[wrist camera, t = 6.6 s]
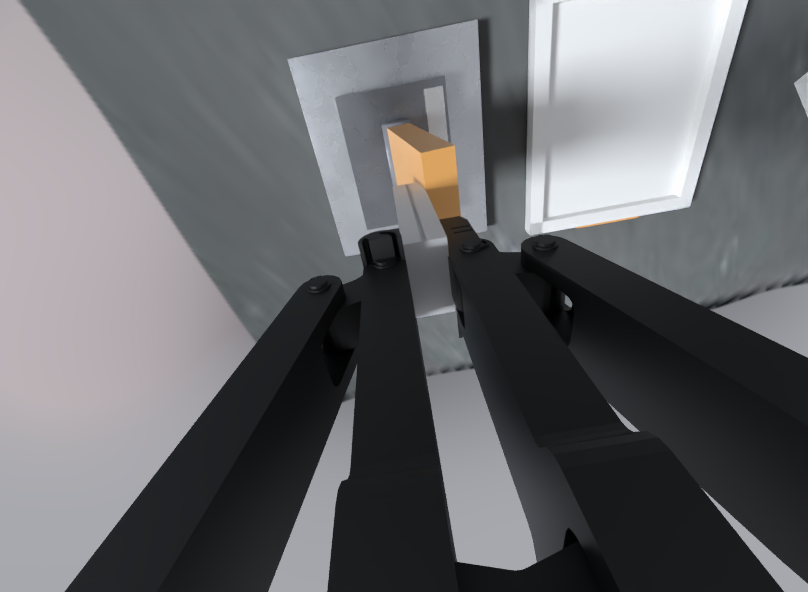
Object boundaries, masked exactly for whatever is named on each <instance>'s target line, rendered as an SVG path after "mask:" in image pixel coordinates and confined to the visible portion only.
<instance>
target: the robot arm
mask: <svg viewBox="0 0 808 592" xmlns="http://www.w3.org/2000/svg"><path fill="white" fill-rule="evenodd" d="M393 194H394V200H395V206H396V212H397V219H398V225H399V228H395V229H390V230H380V231H376V232H372V233H369V234H367V235H365V236H363V237H362V238H360V239H359V241H358V247H359V251H360V254H361V258H362V262H363V266H364V270H363V275H362V276H361V277H360V278H358V279H356V280H354V281H351V282H349V283H346V284H343V285H342V281H341V280H340V278H339V277H336V276H331V275H326V276H317V277H316V278H315V277H314V278H312V279H310V280H309V281H307V282H305V283H304V284H303V285H301V286H300V287H299V288H298V290H297V291H296V292H295V294H294V295H293V296H292V298H291V299H290V300H289V301H288V303H287V304H286V305H285V307H284V308H283V309H282V310H281V312H280V313H279V314H278V316H277V317H276V318H275V320H274V321H273V322H272V323H271V325H270V326H269V327H268V329H267V330H266V331H265V333H264V334H263V335H262V336H261V338H260V339H259V340H258V342H257V343H256V344H255V346H254V347H253V348H252V350H251V351H250V352H249V353H248V355H247V356H246V357H245V359H244V360H243V361H242V362H241V364H240V365H239V366H238V368H237V369H236V370H235V371H234V373H233V374H232V375H231V377H230V378H229V379H228V381H227V382H226V383H225V385H224V386H223V387H222V388H221V390H220V391H219V392H218V394H217V395H216V396H215V397H214V399H213V400H212V401H211V403H210V404H209V405H208V406H207V408H206V409H205V410H204V412H203V413H202V414H201V416H200V417H199V418H198V419H197V421H196V422H195V423H194V425H193V426H192V427H191V429H190V430H189V431H188V432H187V434H186V435H185V436H184V438H183V439H182V440H181V441H180V443H179V444H178V445H177V447H176V448H175V449H174V451H173V452H172V453H171V455H170V456H169V457H168V458H167V460H166V461H165V462H164V464H163V465H162V466H161V468H160V469H159V470H158V472H157V473H156V474H155V475H154V477H153V478H152V479H151V480H150V482H149V483H148V485H147V486H146V487H145V488H144V489H143V491H142V492H141V493H140V495H139V496H138V497H137V499H136V500H135V501H134V503H133V504H132V505H131V506H130V508H129V509H128V510H127V512H126V513H125V514H124V515H123V517H122V518H121V520H120V521H119V522H118V523H117V525H116V526H115V527H114V528H113V530H112V531H111V532H110V534H109V535H108V536H107V537H106V539H105V540H104V541H103V543H102V544H101V545H100V547H99V548H98V549H97V550H96V552H95V553H94V554H93V556H92V557H91V558H90V560H89V561H88V562H87V563H86V565H85V566H84V567H83V569H82V570H81V571H80V573H79V574H78V575H77V576H76V578H75V579H74V580H73V582H72V583H71V584H70V585H69V587H68V588H67V590H66V591H65V592H268V590H269V588H270V585H271V583H272V580H273V578H274V575H275V572H276V570H277V567H278V565H279V562H280V560H281V557H282V555H283V552H284V549H285V547H286V544H287V542H288V539H289V537H290V534H291V532H292V529H293V526H294V524H295V521H296V519H297V516H298V514H299V511H300V508H301V506H302V503H303V501H304V498H305V495H306V493H307V490H308V488H309V485H310V483H311V480H312V478H313V475H314V473H315V470H316V467H317V465H318V462H319V460H320V457H321V455H322V452H323V450H324V447H325V444H326V441H327V439H328V437H329V434H330V432H331V429H332V427H333V424H334V421H335V419H336V416H337V414H338V411H339V408H340V406H341V403H342V401H343V398H344V396H345V393H346V391H347V388H348V386H349V383H350V380H351V378H352V375H353V373H354V370H355V368H356V365H357V377H356V393H355V409H354V424H353V439H352V455H351V468H350V475H349V478H348V479H347V480H344V481H342V482H341V484H340V486H339V489H338V494H337V500H336V507H335V517H334V528H333V538H332V549H331V559H330V570H329V580H328V591H327V592H784V591H783V590H782V589H781V587H780V586H779V585H778V584H777V583H776V581H775V580H774V579H773V577H772V576H771V575H770V574H769V572H768V571H767V570H766V569H765V568H764V566H763V565H762V564H761V563H760V561H759V560H758V559H757V557H756V556H755V555H754V554H753V553H752V551H751V550H750V549H749V547H748V546H747V545H746V544H745V542H744V541H743V540H742V539H741V537H740V536H739V535H738V534H737V532H736V531H735V530H734V529H733V527H732V526H731V525H730V523H729V522H728V521H727V520H726V518H725V517H724V516H723V515H722V513H721V512H720V511H719V510H718V509H717V507H716V506H715V505H714V503H713V502H712V501H711V500H710V498H709V497H708V496H707V495H706V493H705V492H704V491H703V490H702V489H704V490H705V491H706V492H707V493H708V494H709V495H710V496H711V497H712V498H713V499H714V500H716V501H717V502H718V503H719V504H720V505H721V506H722V507H723V508H724V509H726V511H728V512H729V513H730V514H731V515H732V516H733V517H734V518H735V519H736V520H738V522H740V523H741V524H742V525H743V526H744V527H745V528H746V529H747V530H748V531H749V532H751V533H752V534H753V535H754V536H755V537H756V538H757V539H758V540H759V541H760V542H762V543H763V544H764V545H765V546H766V547H767V548H768V549H769V550H770V551H771V552H772V553H773V554H775V555H776V556H777V557H778V558H779V559H780V560H781V561H782V562H783V563H785V564H786V565H787V566H788V567H789V568H790V569H792V570H793V571H794V572H795V573H796V574H797V575H799V576H800V577H801V578H802V579H803V580H805V582H807V583H808V358H807V357H805V356H803V355H801V354H799V353H797V352H795V351H792V350H791V349H789V348H786V347H784V346H782V345H780V344H778V343H776V342H774V341H772V340H770V339H768V338H766V337H764V336H762V335H760V334H758V333H756V332H754V331H752V330H750V329H748V328H746V327H744V326H742V325H740V324H738V323H735V322H733V321H731V320H729V319H727V318H725V317H723V316H721V315H719V314H717V313H715V312H713V311H711V310H709V309H707V308H705V307H703V306H701V305H699V304H697V303H695V302H693V301H691V300H689V299H686V298H684V297H682V296H680V295H678V294H676V293H674V292H672V291H670V290H668V289H666V288H664V287H662V286H660V285H658V284H656V283H654V282H652V281H650V280H648V279H646V278H644V277H642V276H639V275H637V274H635V273H633V272H631V271H629V270H627V269H625V268H623V267H621V266H619V265H617V264H615V263H613V262H611V261H609V260H607V259H605V258H603V257H601V256H599V255H597V254H595V253H593V252H590V251H588V250H586V249H584V248H582V247H580V246H578V245H576V244H574V243H572V242H570V241H568V240H566V239H564V238H561V237H557V236H551V235H544V236H543V235H538V236H535V237H531V238H529V239H526V240H524V241H523V243H522V244H521V252H499V251H498V250H497V248H496V247H495V245H494V244H493V243H492V242H491V241H489V240H486V239H480V238H479V237H478V235H477V234H476V232H475V230H474V229H473V227H472V226H471V224H470V223H469V221H468V220H467V219H465V218H463V217H460V216H456V217H450V218H445V219H439V218H438V216H437V214H436V212H435V210H434V207H433V205H432V203H431V201H430V199H429V196H428V194H427V192H426V190H425V188H424V187H423V186H422V185H421V184H420V183H419V182H415V183H410V184H404V185H399V186H393ZM565 294H566V295H567V296H568V297H569V298H570V300H571V302H572V308H571V307H569V306H567V305H566V304H565ZM454 303H455V306H456V309H457V319H458V329H459V338H462V337H464V340H465V343H466V346H467V348H468V351H469V354H470V357H471V360H472V363H473V366H474V369H475V371H476V374H477V377H478V380H479V383H480V386H481V389H482V392H483V395H484V397H485V400H486V403H487V406H488V409H489V412H490V415H491V417H492V420H493V423H494V426H495V429H496V432H497V435H498V438H499V441H500V444H501V446H502V449H503V452H504V455H505V458H506V461H507V464H508V467H509V469H510V472H511V475H512V478H513V481H514V484H515V487H516V489H517V493H518V495H519V498H520V501H521V504H522V507H523V510H524V513H525V515H526V518H527V521H528V524H529V528H530V531H531V534H532V538H533V543H534V548H535V554H536V559H537V563H535V564H533V565H532V566H530V567H528V568H526V569H523V570H517V571H514V570H506V569H500V568H493V567H487V566H480V565H473V564H467V563H460V562H457V559H456V553H455V548H454V542H453V536H452V530H451V525H450V518H449V512H448V506H447V500H446V494H445V488H444V482H443V476H442V470H441V464H440V458H439V452H438V446H437V439H436V433H435V427H434V421H433V416H432V410H431V403H430V398H429V392H428V386H427V380H426V373H425V367H424V361H423V355H422V349H421V343H420V337H419V331H418V325H417V320H416V318H420V317H425V316H431V315H437V314H443V313H449V312H454V311H455V309H454ZM608 403H609V404H611V405H612V406H613V407H614V408H615V409H616V410H617V411H618V412H619V413H620V414H622V415H623V416H624V417H625V418H626V419H627V420H628V421H629V422H630V423H631V424H632V425H634V426H635V427H636V428H637V429H638V430H639V431H640V432H633V431H631V430H629V429H628V428H627V427H626V426H625V425H624V424H623V423H622V422H621V421H620V419H619V418H618V416H617V415H616V413H615V412H614V411H613V409H612V408H611V406H610V405H609V404H608ZM701 488H702V489H701Z"/></svg>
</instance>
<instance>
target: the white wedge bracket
mask: <svg viewBox="0 0 808 592" xmlns="http://www.w3.org/2000/svg"><path fill="white" fill-rule="evenodd" d="M794 85H795V87H796V90H797V92H798V95H799V97H800V99H801V102H802V104H803V107H804V109H805V112H806V114H807V117H808V72H807V73H806V74H804V75H803V76H802V77H801V78H800V79H798V80H797V81H796V82H795V83H794Z"/></svg>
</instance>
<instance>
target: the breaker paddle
mask: <svg viewBox="0 0 808 592" xmlns="http://www.w3.org/2000/svg"><path fill="white" fill-rule="evenodd" d="M382 131H383V136H384V141H385V147H386V152H387V157H388V162H389V168H390V173H391V178H392V184H393V186H399V185H404V184H410V183H415V182H419V183H420V184H421V185H422V186H423V187H424V188H425V190H426V192H427V194H428V196H429V199H430V201H431V203H432V205H433V207H434V210H435V212H436V214H437V216H438V218H439V219H445V218H450V217H456V216H460V217H461V212H460V200H459V189H458V177H457V165H456V154H455V145H453V144H451V143H449V142H447V141H445V140H443V139H441V138H439V137H437V136H435V135H433V134H431V133H428V132H426V131H424V130H422V129H420V128H418V127H416V126H414V125H412V124H410V119H402V120H396V121H391V122H388V123H384V124H382Z"/></svg>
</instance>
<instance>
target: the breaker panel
mask: <svg viewBox="0 0 808 592" xmlns="http://www.w3.org/2000/svg"><path fill="white" fill-rule="evenodd" d="M288 63H289V66H290V69H291V73H292V76H293V80H294V83H295V87H296V90H297V93H298V97H299V100H300V104H301V107H302V110H303V114H304V117H305V121H306V124H307V127H308V131H309V134H310V138H311V141H312V144H313V148H314V151H315V155H316V158H317V161H318V165H319V168H320V172H321V175H322V178H323V182H324V185H325V189H326V192H327V195H328V199H329V202H330V206H331V209H332V212H333V216H334V219H335V223H336V226H337V229H338V233H339V236H340V240H341V243H342V246H343V250H344V253H345V257H346V256H351V255H357V254H360V251H359V247H358V241H359V239H360V238H362V237H363V236H365V235H367V234H369V233H372V232H376V231H380V230H390V229H395V228H399V225H398V219H397V212H396V206H395V200H394V194H393V184H392V178H391V173H390V168H389V162H388V157H387V152H386V147H385V141H384V136H383V131H382V124H384V123H388V122H391V121H396V120H402V119H410V124H412V125H414V126H416V127H418V128H420V129H422V130H424V131H426V132H428V133H431V134H433V135H435V136H437V137H439V138H441V139H443V140H445V141H447V142H449V143H451V144H453V145H455V154H456V165H457V177H458V189H459V200H460V212H461V217H463V218H465V219H467V220H468V221H469V223H470V224H471V226H472V227H473V229H474V230H475V232H476V233H479V232H484V231H487V217H486V195H485V173H484V150H483V128H482V106H481V83H480V61H479V39H478V19H477V20H472V21H467V22H463V23H458V24H453V25H448V26H444V27H439V28H434V29H429V30H425V31H420V32H415V33H410V34H406V35H401V36H396V37H391V38H387V39H382V40H377V41H372V42H367V43H363V44H358V45H353V46H348V47H344V48H339V49H334V50H329V51H325V52H320V53H315V54H310V55H306V56H301V57H296V58H291V59H288Z"/></svg>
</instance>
